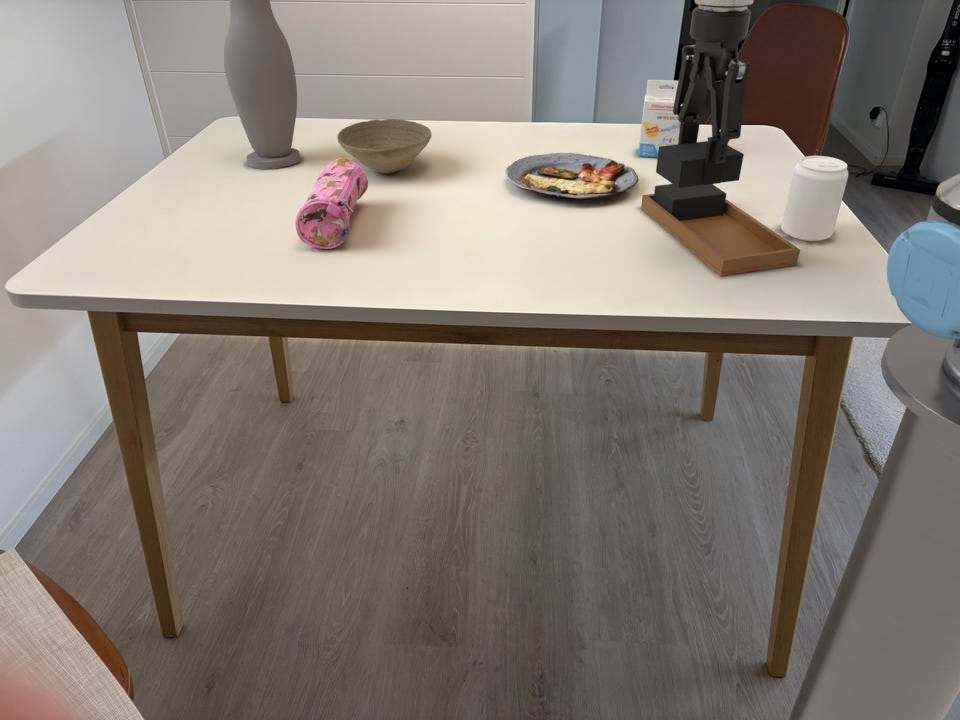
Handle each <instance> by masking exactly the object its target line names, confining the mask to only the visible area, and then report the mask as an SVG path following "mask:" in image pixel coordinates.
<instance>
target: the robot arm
mask: <svg viewBox="0 0 960 720" xmlns="http://www.w3.org/2000/svg"><path fill="white" fill-rule="evenodd" d="M754 1H755V0H694V4H696V5H698V6H696V7H695V8H694V9H693V10H692V13H691V20H690V28H689V36H690V38H692V39H693V40H695V44H691V45H689V44H688V45H683V46H682V49H681V66H680V70H679V76H678V80H677V81H678V86H677V91H676V97H675V102H674V107H673V114H674V115H678V116H679V117H678V120H679V122H681V123H680V131H679V132H680V133H679V138H678V144H686V143H695V142H698V139H699V138H698V137H699V130H700V123H699V121H700V122H701V120H702V118H701V117H700V116H699V114H700V112H701V109H702V106H703V104H704V101H705V98H706V95H707V93H708V90H709V92H710V115H711V116H710V117H711V118H710V119H711V136H708V137H707V141H708V142H707V148H706V155H705V162H704V169H703V175H702V182H701V184H703V185H709V184H713V185H715V184H721V183H720V182H721V176H722V170H723V164H724V161H725V158H726V152H727V146H729V142H730V140H737V139H740V137H741V133H742V124H743V114H744V106H745V98H746V88H747V87H746V86H747V81H748V78H749V75H750V71H751V68H752V67H751V63H750V62H742V61H740V60H739V52H738V51H739V50H738V48H739V47H738V46H739V44H740V43H741V42H742V41H744V40H745V39H747V37H748V33H749V27H750V21H751V16H752V12H751V10H750V8H748V7H750V6H752V5H753V4H754ZM681 104H683V105H682V106H681ZM935 190H936V191H935V194H934V197H933V200H932V203H931V206H930V208H929V212H928V214H927V218H926V221H919V222H917V223H915V224H912V226H910V227H909V228H908V229H907V230H905V231H903V232H901V233H900V234H899V235H898V236H897V238H896V239H895V240H894V241H893V242H892V245H891V247H890V250H889V252H888V256H887V259H886V279H887V283H888V288H889V291H890V294H891V296H893V298H894V300H895V301H896V305H897V308H898V309H899V311H900V312H901V313H902V314H903V316H904V317H905V318H906V319H907V320H908V321H909V322H910V323H911V325H912V324H914V325H915V326H916V327H918V328H919V329H921V330H922V331H924V332H926V333H928V334H930V335H933V336H936V337H939V338H944V339H953V341H952V342H951V344H950V345H949V347H948V349H947V352H946V354H945V357H944V360H943V365H944V369H945V371H946V373H947V375H948V376H949V377H950V379H951V380H952V381H953V382H954V383H955V384H957V385H958V386H959V387H960V172H958V173H956V174H955V175H952V176H950V177H948V178H946V179H945V180H943V181H942V182H940V183H939V185H938V186H937V188H936V189H935Z"/></svg>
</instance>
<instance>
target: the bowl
mask: <svg viewBox="0 0 960 720" xmlns="http://www.w3.org/2000/svg"><path fill="white" fill-rule="evenodd" d="M431 138H432V130H431V129H430V128H429V127H427V126H426V125H424V124H422V123H420V122H419V123H418V122H416V121H411V120H406V119H396V118H389V119H371V120H367V121H360V122H355V123H353V124H351V125H348V126H346V127H343V129H341V130H340V131H339V132H338V133H337V136H336V139H337V143H338V144H339V145H340V146H341V148H342V149H343V150H344V151H345V152H346V153H348V154H349V155H350V156H352V157H353V158H354V159H355V160H357V161H359V162H360V163H361V164H362V165H363V166H364V167H366V168H367V169H369V170H372V171H374V172H377V173H381V174H392V173H397V172H399V171H402V170H403V169H404V168H406V167H407V166H409V165H410V164H411V163H412V162H413V161H414V160H415V159H416V158H417V157H418V156H419V155H420V154H421V152H423V150H424V149H425V148H426V147H427V146H428V145H429V142H430V141H431Z"/></svg>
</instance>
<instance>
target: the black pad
mask: <svg viewBox="0 0 960 720" xmlns="http://www.w3.org/2000/svg"><path fill="white" fill-rule="evenodd" d="M707 142H708V140H706V141H697V142H695V143H686V144H677V145H668V146H659V150H658V158H656V166H655V167H656V169H655V173H656V174H657V175H659V176H661V177H662V178H663V179H665V180H666V181H668V182H669V183H670V184H673V185H675V186H676V187H678V188H682V187H690V186H698V185H703V184H701V182H702V175H703V169H704V162H705V155H706V148H707ZM744 155H745V153H743V152H742V151H740V150H737V149H736V148H734V147H731V145H728V146H727V152H726V158H725V161H724V164H723V170H722V176H721V182H720V183H719V184H721V183H730V182H736V181H740V177H741V171H742V166H743V160H744Z"/></svg>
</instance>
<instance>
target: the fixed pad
mask: <svg viewBox="0 0 960 720" xmlns="http://www.w3.org/2000/svg"><path fill="white" fill-rule="evenodd" d="M653 194H654V199H653V200H654V201H655V202H656V203H658V204H659V205H660V206H661V207H663V208H664V209H665V210H666V211H668V212H669V213H670V214H671V215H673V216H674V217H675V218H676V219H678V220H679V221H682V220H690V219H698V218H706V217H714V216H722V215H723V212H724V206H725V200H727V193H726V192H725V191H724V190H722V189H721V188H720V187H717V186H716V185H715V184H709V185H698V186H690V187H682V188H678V187H676V186H675V185H673V184H672V183H668V184H667V183H666V184H660V185H659V184H657V185H655V186H654V191H653Z"/></svg>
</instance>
